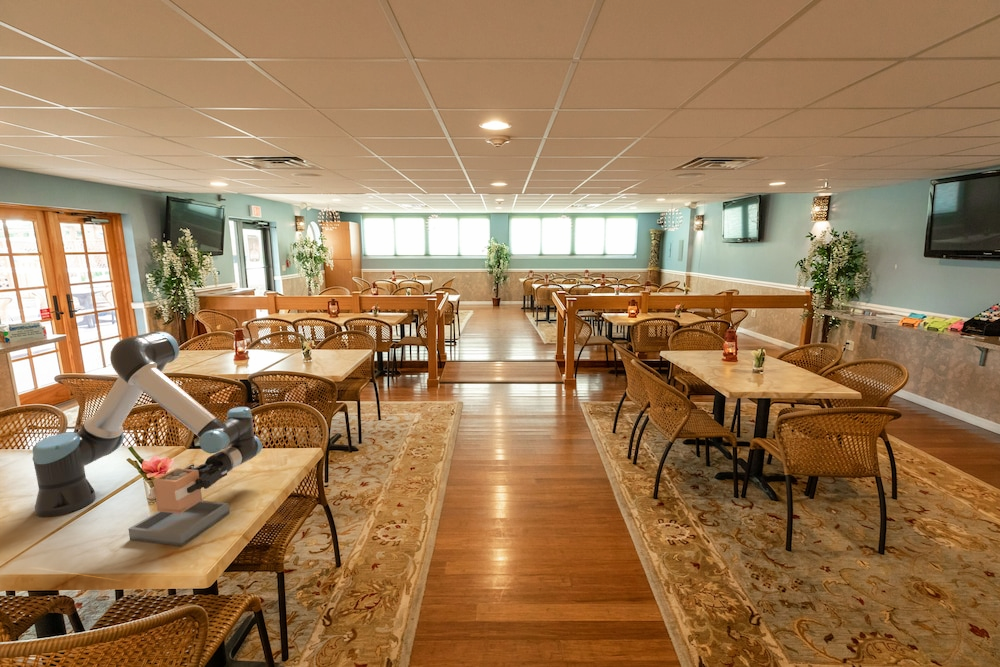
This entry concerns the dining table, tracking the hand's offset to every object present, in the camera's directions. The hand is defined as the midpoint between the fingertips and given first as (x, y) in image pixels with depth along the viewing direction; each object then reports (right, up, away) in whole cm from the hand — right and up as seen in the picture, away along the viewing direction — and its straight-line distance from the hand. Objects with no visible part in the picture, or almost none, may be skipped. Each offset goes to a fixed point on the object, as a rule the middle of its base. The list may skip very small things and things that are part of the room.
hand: (163, 494), depth 139 cm
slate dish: (+1, -12, +7) cm, 14 cm away
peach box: (+1, -5, +6) cm, 8 cm away
